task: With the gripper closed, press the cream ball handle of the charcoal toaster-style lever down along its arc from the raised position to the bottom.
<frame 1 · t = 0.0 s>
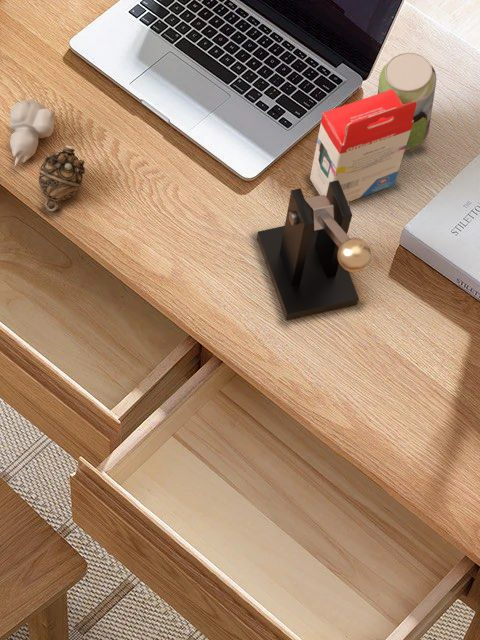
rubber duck: (39, 101, 143), point 3 cm above the table
ink box: (350, 183, 141), on the table
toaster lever: (336, 233, 122), point 14 cm above the table, hinge at 30.0°
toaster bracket: (306, 271, 136), on the table
beverage can: (395, 137, 144), on the table
pendant: (38, 170, 140), point 3 cm above the table
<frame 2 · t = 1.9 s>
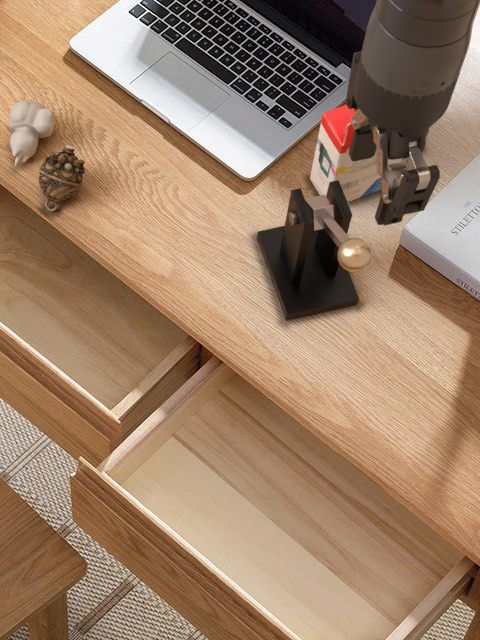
hand: (373, 187, 108), 27 cm above the table, tool pointing down, fingers open, 6 cm apart
nothing on the table moved.
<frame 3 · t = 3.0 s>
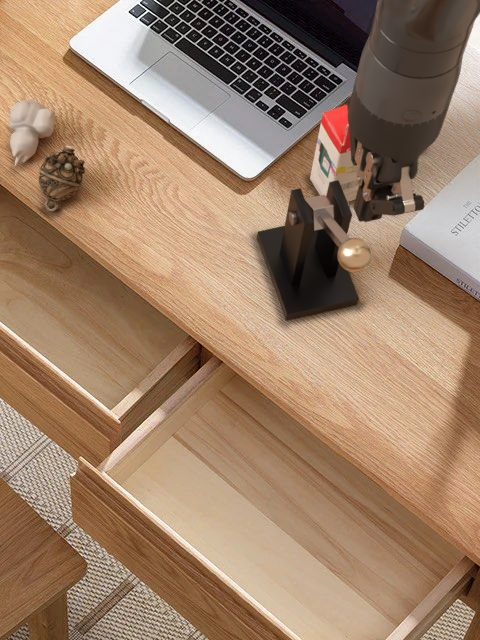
hand: (366, 213, 111), 23 cm above the table, tool pointing down, fingers closed
nothing on the table moved.
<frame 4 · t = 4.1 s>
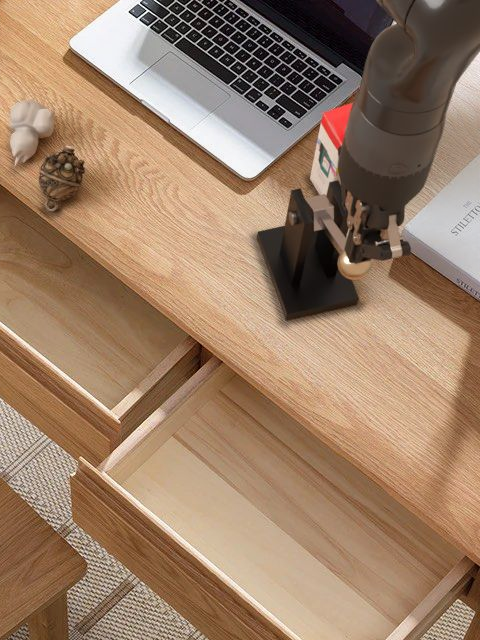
hand: (357, 254, 117), 17 cm above the table, tool pointing down, fingers closed
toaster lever: (336, 237, 122), point 13 cm above the table, hinge at 25.0°, touching gripper
everything else where it was.
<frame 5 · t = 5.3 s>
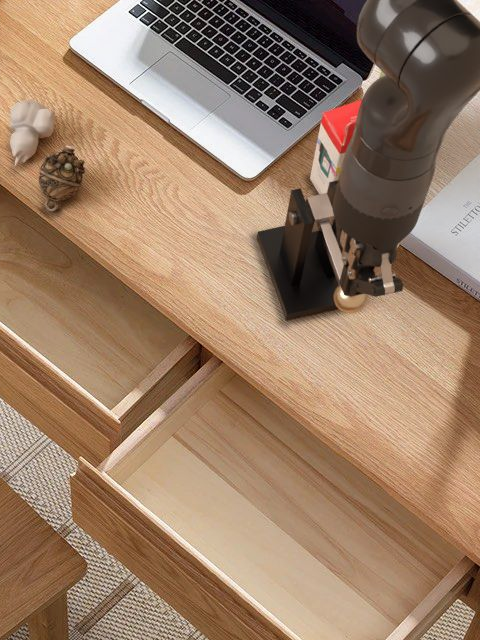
hand: (351, 287, 120), 12 cm above the table, tool pointing down, fingers closed
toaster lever: (334, 254, 124), point 11 cm above the table, hinge at -2.7°, touching gripper
everything else where it was.
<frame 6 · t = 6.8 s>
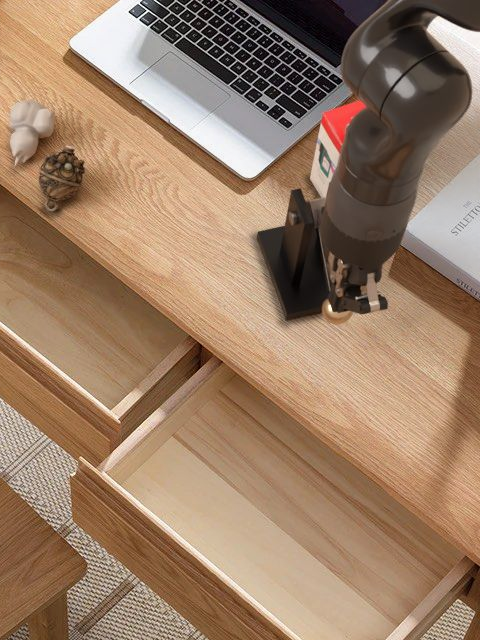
hand: (339, 304, 126), 7 cm above the table, tool pointing down, fingers closed
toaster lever: (328, 262, 127), point 8 cm above the table, hinge at -33.7°, touching gripper
everything else where it was.
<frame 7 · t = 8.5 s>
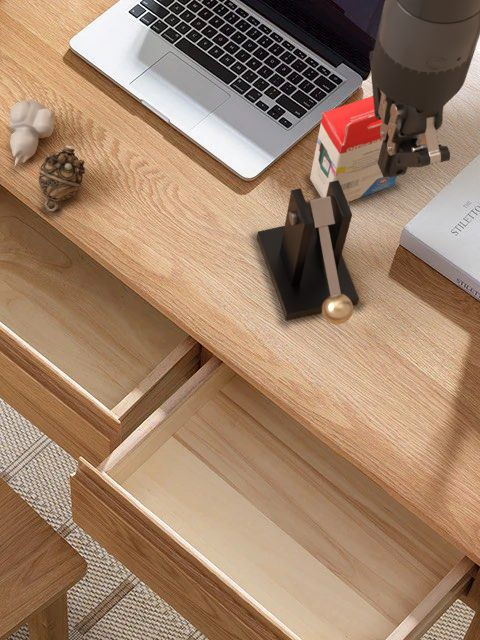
hand: (391, 168, 111), 25 cm above the table, tool pointing down, fingers closed
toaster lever: (328, 262, 127), point 8 cm above the table, hinge at -33.9°
everything else where it was.
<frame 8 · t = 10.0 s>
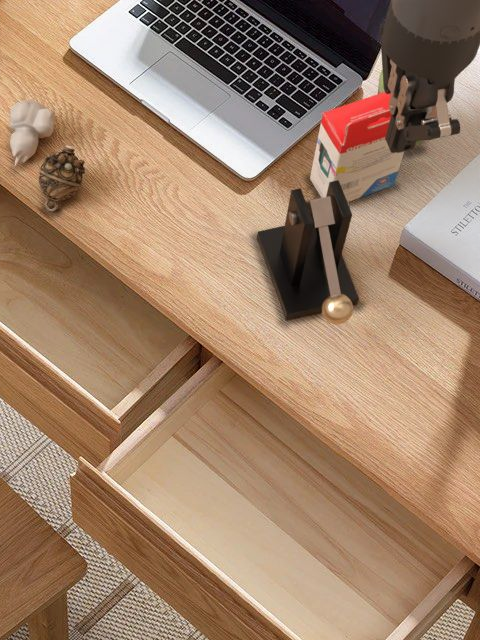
hand: (398, 144, 110), 27 cm above the table, tool pointing down, fingers closed
nothing on the table moved.
at the end: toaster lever at -34° (first picture: +30°) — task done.
